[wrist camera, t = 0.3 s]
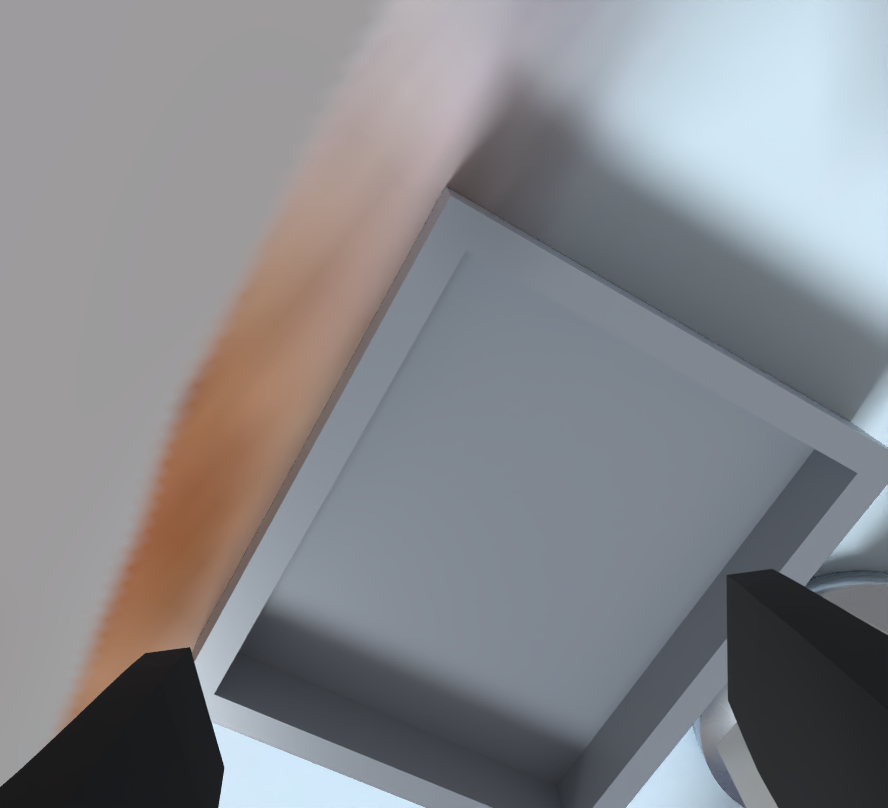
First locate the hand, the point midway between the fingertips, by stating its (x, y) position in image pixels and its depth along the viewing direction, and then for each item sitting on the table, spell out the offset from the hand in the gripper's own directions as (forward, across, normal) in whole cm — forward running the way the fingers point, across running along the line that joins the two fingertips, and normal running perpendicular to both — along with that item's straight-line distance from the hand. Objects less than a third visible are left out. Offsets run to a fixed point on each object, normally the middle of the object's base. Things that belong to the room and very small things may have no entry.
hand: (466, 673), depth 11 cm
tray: (+10, -1, +4) cm, 11 cm away
